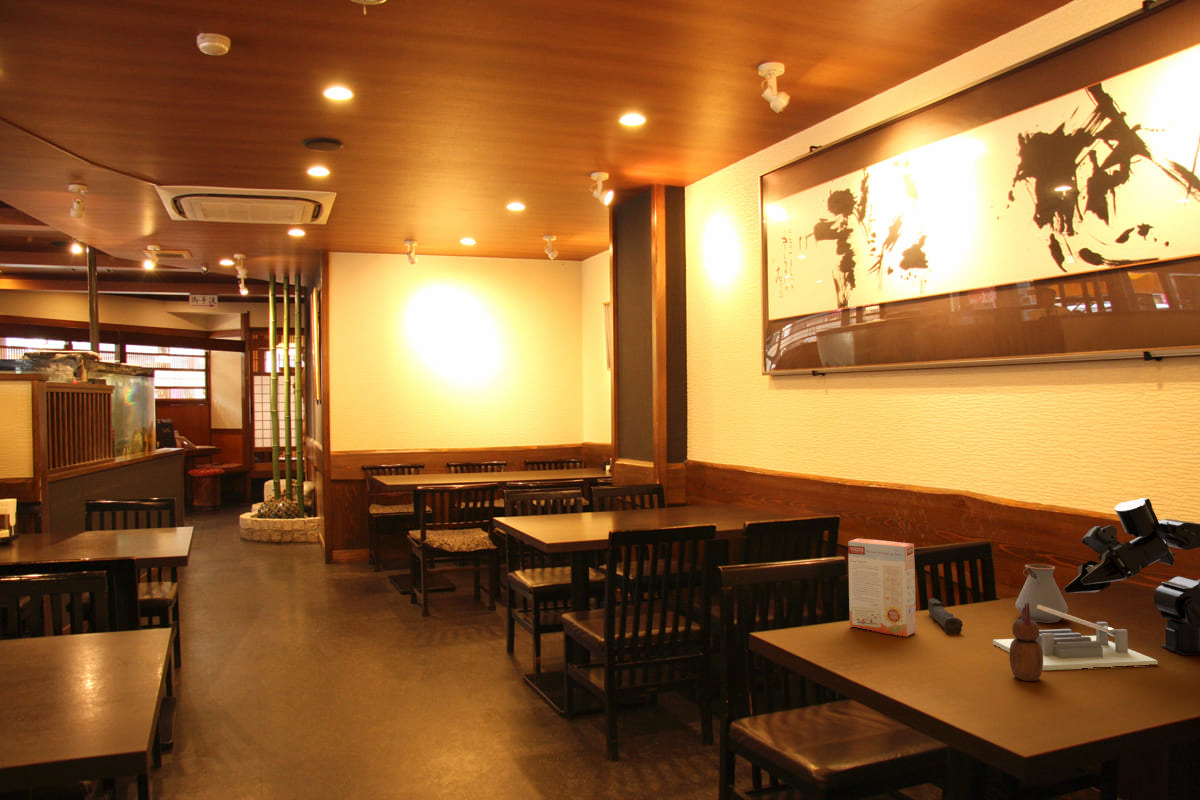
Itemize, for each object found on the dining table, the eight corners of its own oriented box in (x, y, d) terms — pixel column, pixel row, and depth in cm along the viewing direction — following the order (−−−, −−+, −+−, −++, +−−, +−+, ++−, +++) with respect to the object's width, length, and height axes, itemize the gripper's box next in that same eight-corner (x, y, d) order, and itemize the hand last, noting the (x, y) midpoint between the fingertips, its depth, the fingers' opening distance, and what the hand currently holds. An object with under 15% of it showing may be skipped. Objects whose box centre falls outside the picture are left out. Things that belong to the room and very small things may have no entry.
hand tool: (963, 635, 188) (963, 615, 188) (944, 635, 188) (944, 614, 189) (942, 615, 207) (942, 596, 207) (925, 614, 207) (925, 596, 207)
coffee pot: (1020, 610, 208) (1019, 551, 209) (1072, 617, 201) (1070, 556, 201) (1001, 629, 192) (1000, 565, 192) (1057, 637, 184) (1056, 570, 185)
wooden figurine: (1042, 686, 153) (1040, 606, 153) (1008, 681, 156) (1006, 602, 156) (1044, 675, 159) (1043, 598, 159) (1011, 671, 162) (1010, 595, 162)
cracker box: (917, 632, 190) (915, 542, 190) (906, 638, 185) (905, 546, 186) (860, 622, 199) (858, 536, 200) (848, 627, 195) (847, 540, 195)
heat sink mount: (1096, 640, 182) (1095, 614, 182) (1157, 665, 164) (1156, 637, 164) (992, 644, 180) (992, 618, 180) (1043, 670, 162) (1042, 642, 162)
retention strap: (1107, 633, 175) (1109, 626, 175) (1120, 639, 171) (1122, 631, 171) (1036, 609, 173) (1038, 602, 174) (1047, 614, 169) (1050, 607, 170)
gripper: (1093, 532, 184) (1033, 562, 183) (1131, 508, 167) (1065, 541, 166) (1127, 576, 179) (1066, 607, 179) (1170, 556, 163) (1102, 591, 162)
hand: (1073, 586), depth 171 cm, fingers open, 9 cm apart
